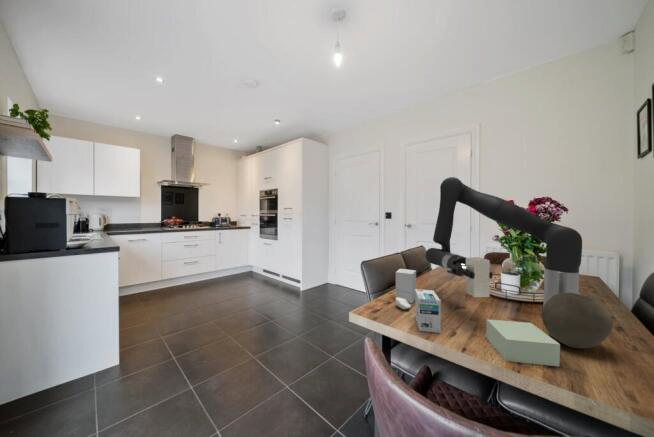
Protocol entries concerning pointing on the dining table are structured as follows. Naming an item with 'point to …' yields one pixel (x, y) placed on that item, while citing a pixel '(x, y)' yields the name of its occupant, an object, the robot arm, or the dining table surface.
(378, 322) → the dining table surface
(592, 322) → the brown coconut
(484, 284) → the tea tin
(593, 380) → the dining table surface
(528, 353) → the green box
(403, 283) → the supplement box
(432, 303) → the light bulb box
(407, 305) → the dumpling
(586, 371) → the dining table surface
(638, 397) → the dining table surface
